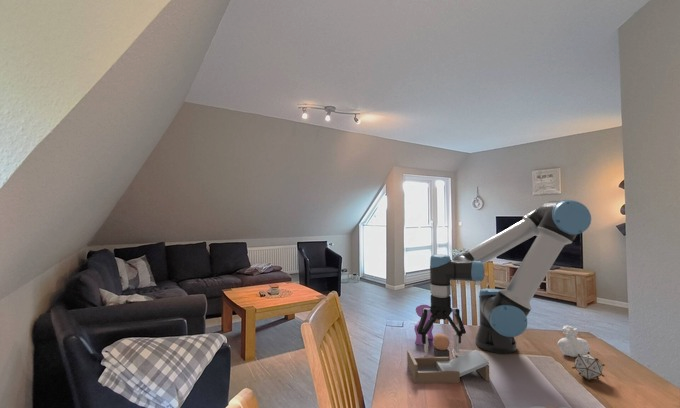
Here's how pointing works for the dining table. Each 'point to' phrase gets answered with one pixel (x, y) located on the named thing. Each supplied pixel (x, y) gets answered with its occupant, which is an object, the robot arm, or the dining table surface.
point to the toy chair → (429, 334)
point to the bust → (573, 343)
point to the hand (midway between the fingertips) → (441, 351)
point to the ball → (441, 342)
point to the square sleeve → (441, 352)
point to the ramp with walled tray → (446, 367)
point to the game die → (588, 366)
